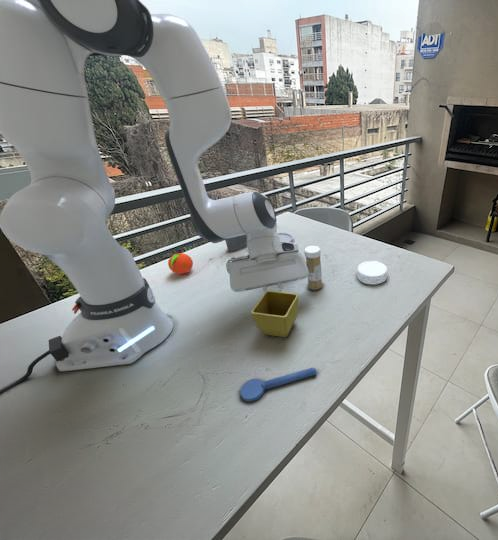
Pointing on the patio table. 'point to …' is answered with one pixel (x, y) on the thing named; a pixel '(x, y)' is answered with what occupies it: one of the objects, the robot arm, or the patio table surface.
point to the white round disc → (372, 272)
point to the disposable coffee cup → (286, 237)
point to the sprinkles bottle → (313, 267)
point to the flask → (236, 243)
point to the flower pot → (276, 312)
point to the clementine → (180, 263)
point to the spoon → (270, 384)
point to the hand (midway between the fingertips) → (275, 301)
